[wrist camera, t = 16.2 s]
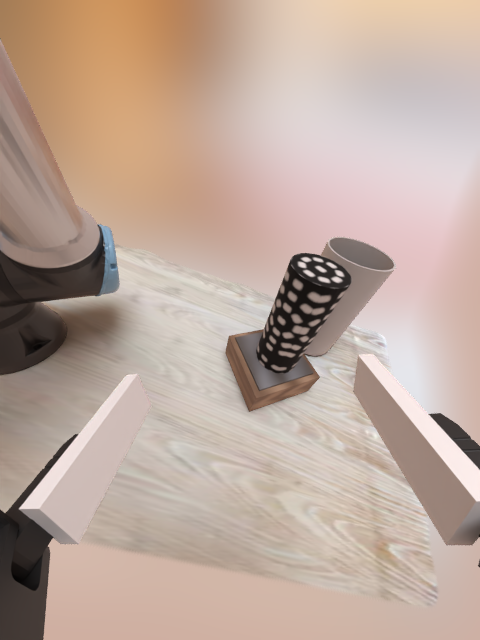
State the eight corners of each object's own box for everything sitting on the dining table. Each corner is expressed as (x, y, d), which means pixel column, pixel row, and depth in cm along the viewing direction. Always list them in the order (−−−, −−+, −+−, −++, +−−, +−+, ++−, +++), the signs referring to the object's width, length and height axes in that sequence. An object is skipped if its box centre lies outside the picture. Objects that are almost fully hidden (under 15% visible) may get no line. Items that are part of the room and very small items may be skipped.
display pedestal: (249, 411, 39) (257, 396, 34) (225, 352, 47) (229, 334, 43) (307, 390, 44) (321, 375, 40) (276, 341, 53) (285, 323, 48)
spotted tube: (247, 348, 41) (277, 259, 27) (276, 333, 45) (315, 249, 31) (276, 381, 37) (328, 296, 23) (304, 361, 41) (363, 278, 27)
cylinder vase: (323, 365, 50) (396, 280, 32) (277, 341, 53) (321, 251, 35) (333, 334, 58) (395, 253, 40) (292, 314, 61) (334, 231, 44)
